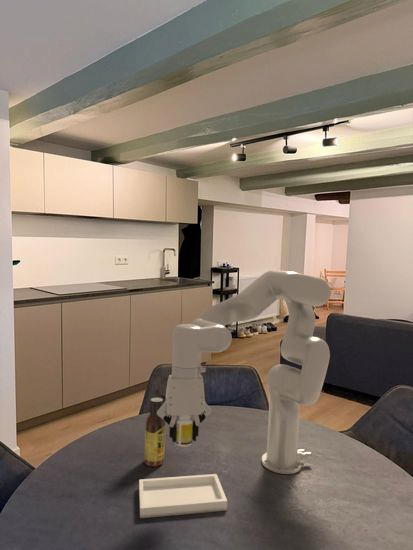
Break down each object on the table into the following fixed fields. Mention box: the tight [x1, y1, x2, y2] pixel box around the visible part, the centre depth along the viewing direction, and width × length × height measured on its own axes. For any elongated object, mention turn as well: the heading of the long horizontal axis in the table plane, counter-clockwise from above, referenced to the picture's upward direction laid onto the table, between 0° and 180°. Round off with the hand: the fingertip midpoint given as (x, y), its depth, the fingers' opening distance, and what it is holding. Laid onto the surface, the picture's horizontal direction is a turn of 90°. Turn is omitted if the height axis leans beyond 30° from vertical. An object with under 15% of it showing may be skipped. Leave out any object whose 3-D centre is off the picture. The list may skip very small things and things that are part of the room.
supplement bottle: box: [174, 415, 194, 448], centre depth 102 cm, size 5×5×8 cm
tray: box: [138, 473, 228, 519], centre depth 102 cm, size 22×12×2 cm, turn 101°
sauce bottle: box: [143, 397, 167, 468], centre depth 120 cm, size 7×6×20 cm
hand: (183, 438), depth 102 cm, fingers closed on supplement bottle, 4 cm apart
